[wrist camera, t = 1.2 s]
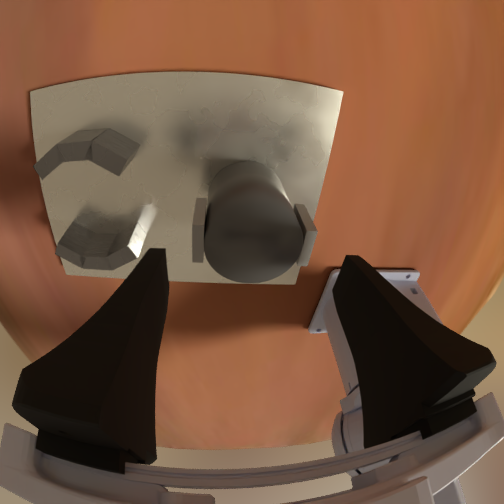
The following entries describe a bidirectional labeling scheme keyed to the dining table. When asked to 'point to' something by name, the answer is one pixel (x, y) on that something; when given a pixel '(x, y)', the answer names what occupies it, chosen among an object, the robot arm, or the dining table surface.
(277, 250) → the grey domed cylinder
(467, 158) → the dining table surface
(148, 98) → the beige plate
